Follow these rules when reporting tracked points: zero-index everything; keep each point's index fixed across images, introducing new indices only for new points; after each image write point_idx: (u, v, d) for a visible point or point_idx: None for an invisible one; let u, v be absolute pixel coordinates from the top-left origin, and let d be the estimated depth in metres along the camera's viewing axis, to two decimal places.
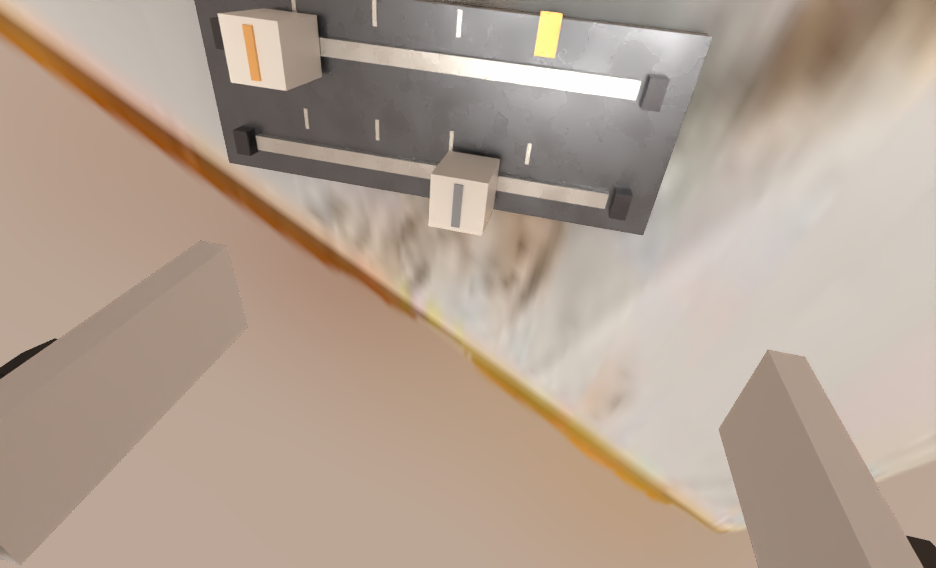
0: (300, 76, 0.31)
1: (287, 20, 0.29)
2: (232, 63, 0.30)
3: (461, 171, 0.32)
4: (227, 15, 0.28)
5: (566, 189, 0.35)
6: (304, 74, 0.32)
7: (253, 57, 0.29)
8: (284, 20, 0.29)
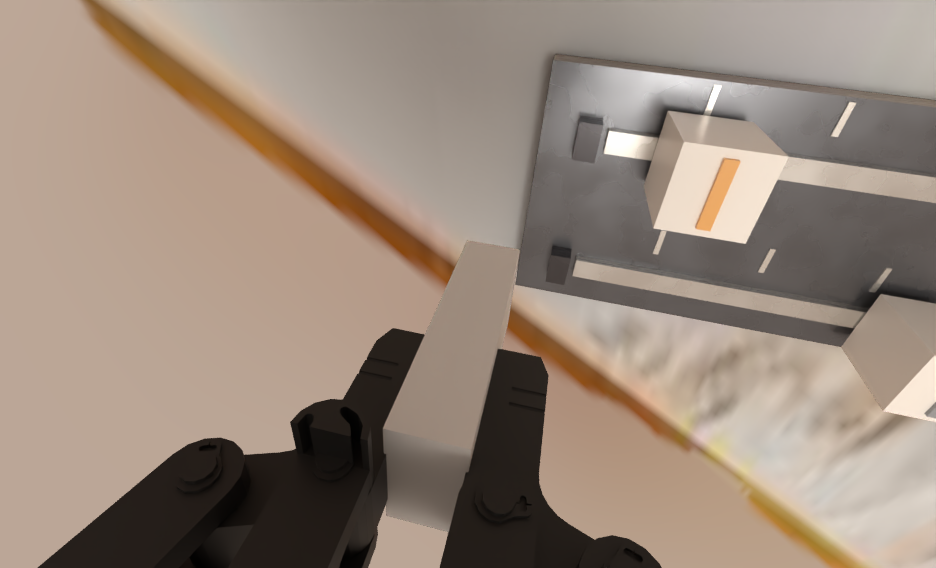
0: None
1: (777, 148, 0.19)
2: (671, 205, 0.20)
3: None
4: (700, 145, 0.19)
5: None
6: None
7: (718, 201, 0.20)
8: (779, 149, 0.19)
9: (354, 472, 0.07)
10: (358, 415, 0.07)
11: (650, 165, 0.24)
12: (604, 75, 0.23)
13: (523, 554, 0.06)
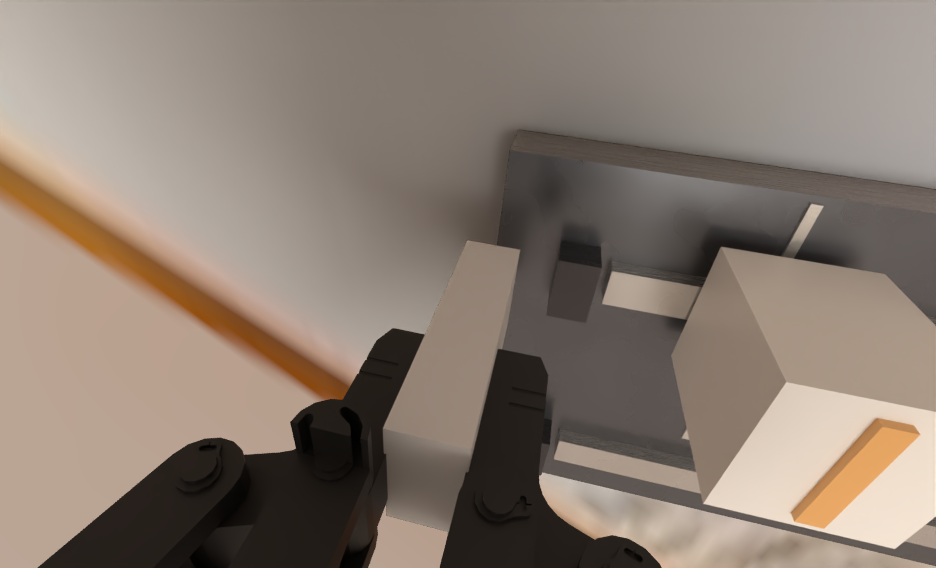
0: None
1: None
2: (743, 477, 0.10)
3: None
4: (824, 391, 0.08)
5: None
6: None
7: (851, 489, 0.09)
8: None
9: (354, 472, 0.07)
10: (358, 415, 0.07)
11: (684, 328, 0.14)
12: (603, 178, 0.13)
13: (523, 554, 0.06)
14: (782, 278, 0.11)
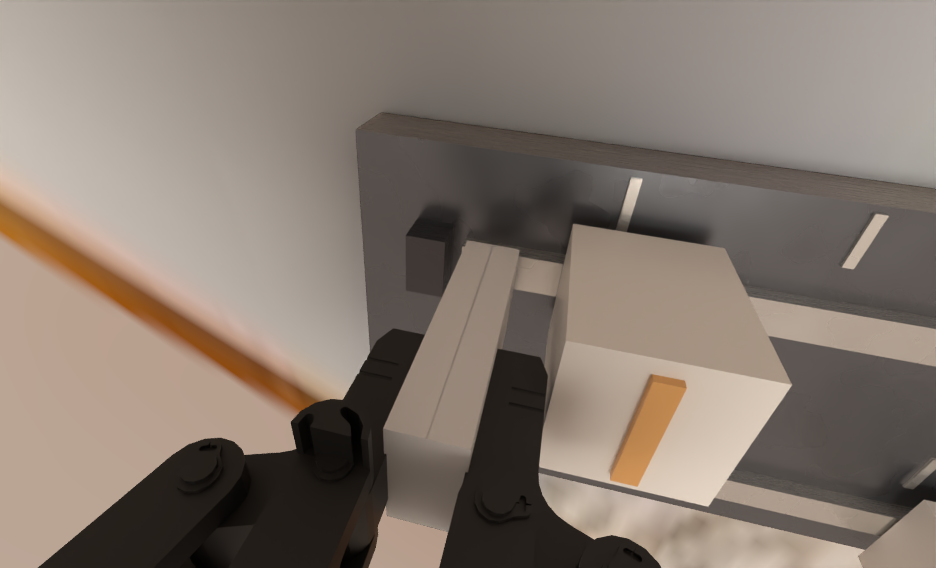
0: None
1: (767, 342, 0.09)
2: (559, 437, 0.10)
3: None
4: (600, 348, 0.09)
5: None
6: None
7: (648, 445, 0.10)
8: (770, 350, 0.09)
9: (354, 472, 0.07)
10: (358, 415, 0.07)
11: (554, 305, 0.14)
12: (443, 156, 0.13)
13: (523, 554, 0.06)
14: (618, 251, 0.12)
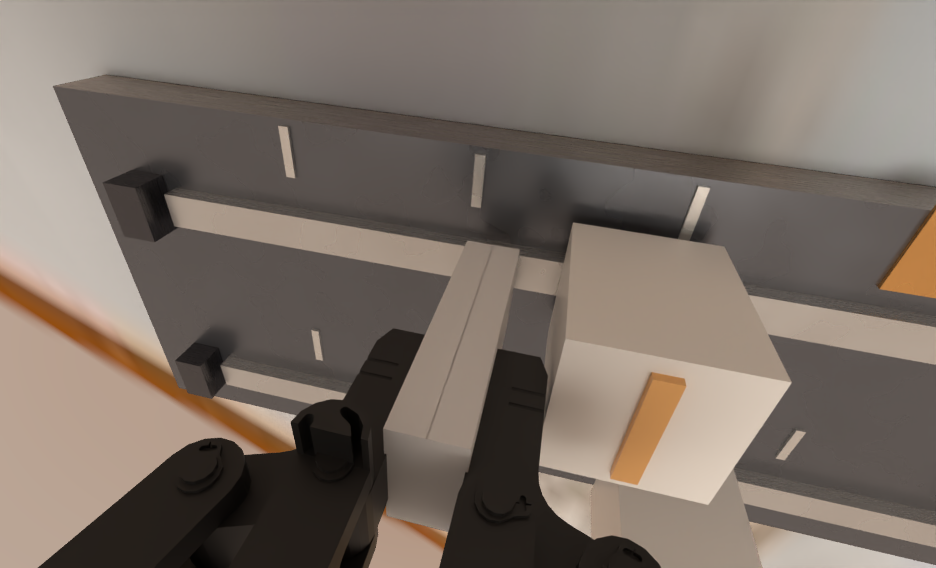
0: None
1: (766, 340, 0.09)
2: (559, 436, 0.10)
3: (686, 547, 0.14)
4: (600, 346, 0.09)
5: (868, 513, 0.17)
6: None
7: (648, 443, 0.10)
8: (770, 348, 0.09)
9: (354, 472, 0.07)
10: (358, 415, 0.07)
11: (554, 304, 0.14)
12: (130, 109, 0.15)
13: (523, 554, 0.06)
14: (617, 250, 0.12)
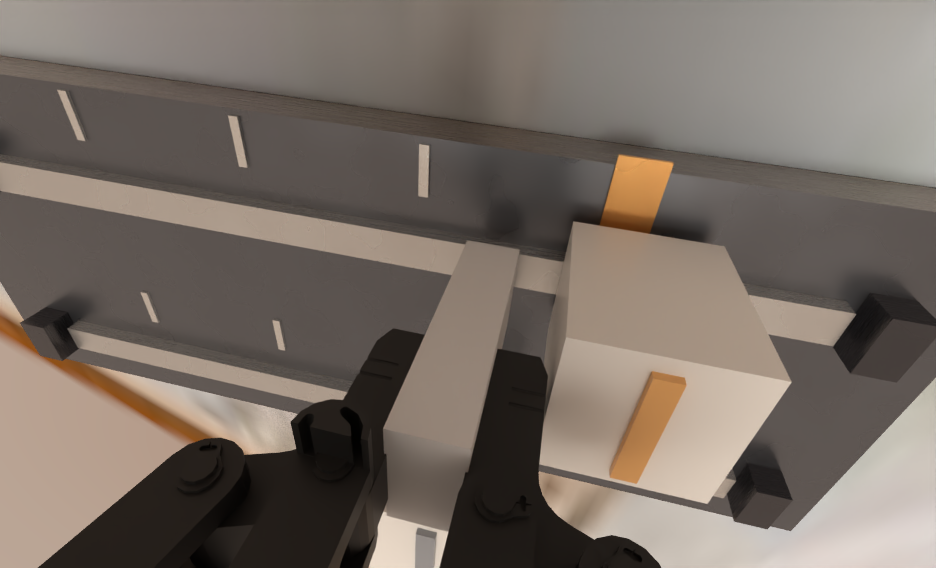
0: None
1: (766, 339, 0.09)
2: (558, 434, 0.10)
3: None
4: (600, 345, 0.09)
5: None
6: None
7: (647, 442, 0.10)
8: (770, 348, 0.09)
9: (354, 472, 0.07)
10: (358, 415, 0.07)
11: (554, 302, 0.14)
12: None
13: (522, 554, 0.06)
14: (618, 249, 0.12)
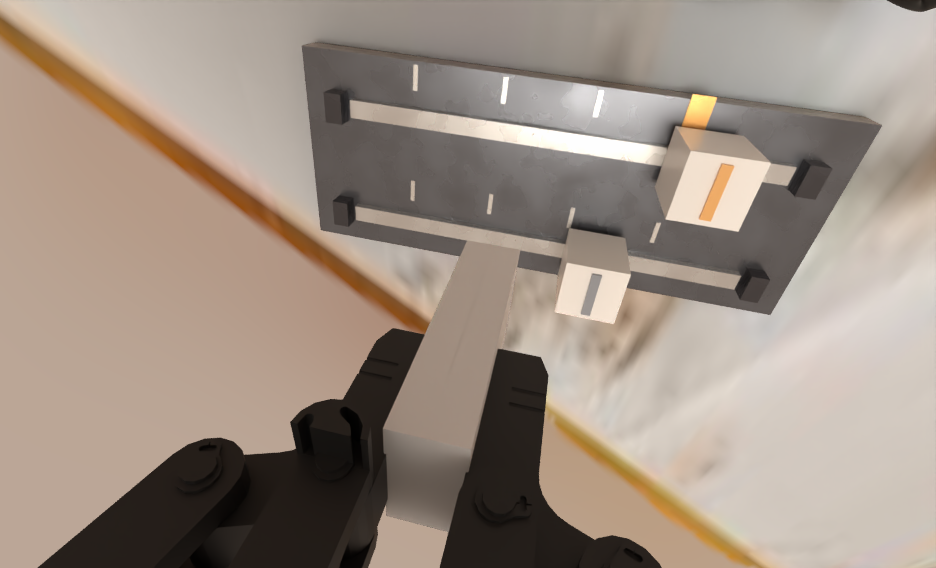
0: None
1: (762, 156, 0.25)
2: (679, 201, 0.26)
3: (596, 258, 0.30)
4: (703, 153, 0.24)
5: (694, 269, 0.33)
6: None
7: (717, 197, 0.25)
8: (763, 157, 0.24)
9: (354, 472, 0.07)
10: (358, 415, 0.07)
11: (660, 170, 0.30)
12: (339, 57, 0.31)
13: (523, 554, 0.06)
14: (699, 134, 0.27)
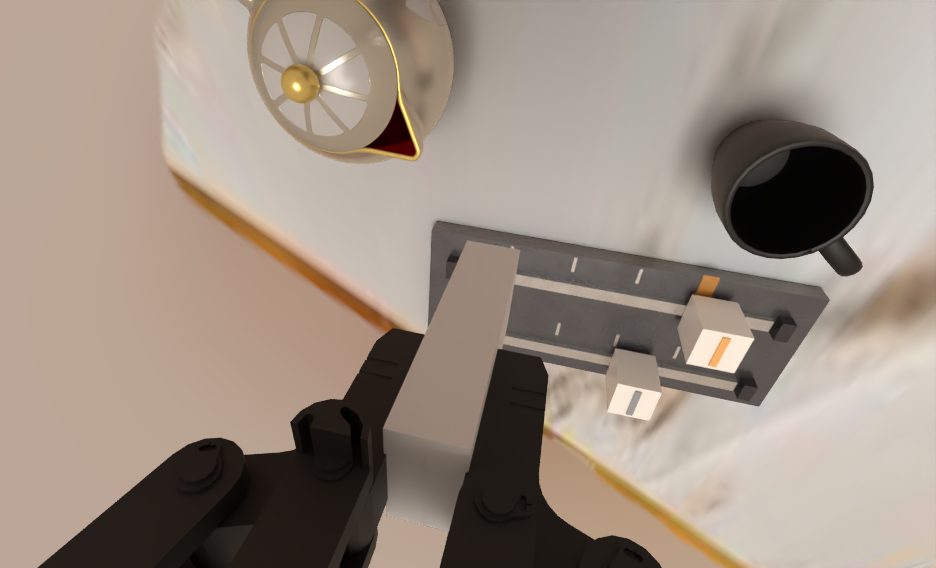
0: None
1: (749, 329, 0.38)
2: (695, 354, 0.39)
3: (637, 378, 0.44)
4: (711, 330, 0.38)
5: (704, 377, 0.47)
6: None
7: (720, 354, 0.39)
8: (750, 331, 0.38)
9: (354, 472, 0.07)
10: (358, 415, 0.07)
11: (681, 318, 0.43)
12: (458, 238, 0.45)
13: (523, 554, 0.06)
14: (708, 304, 0.41)
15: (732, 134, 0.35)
